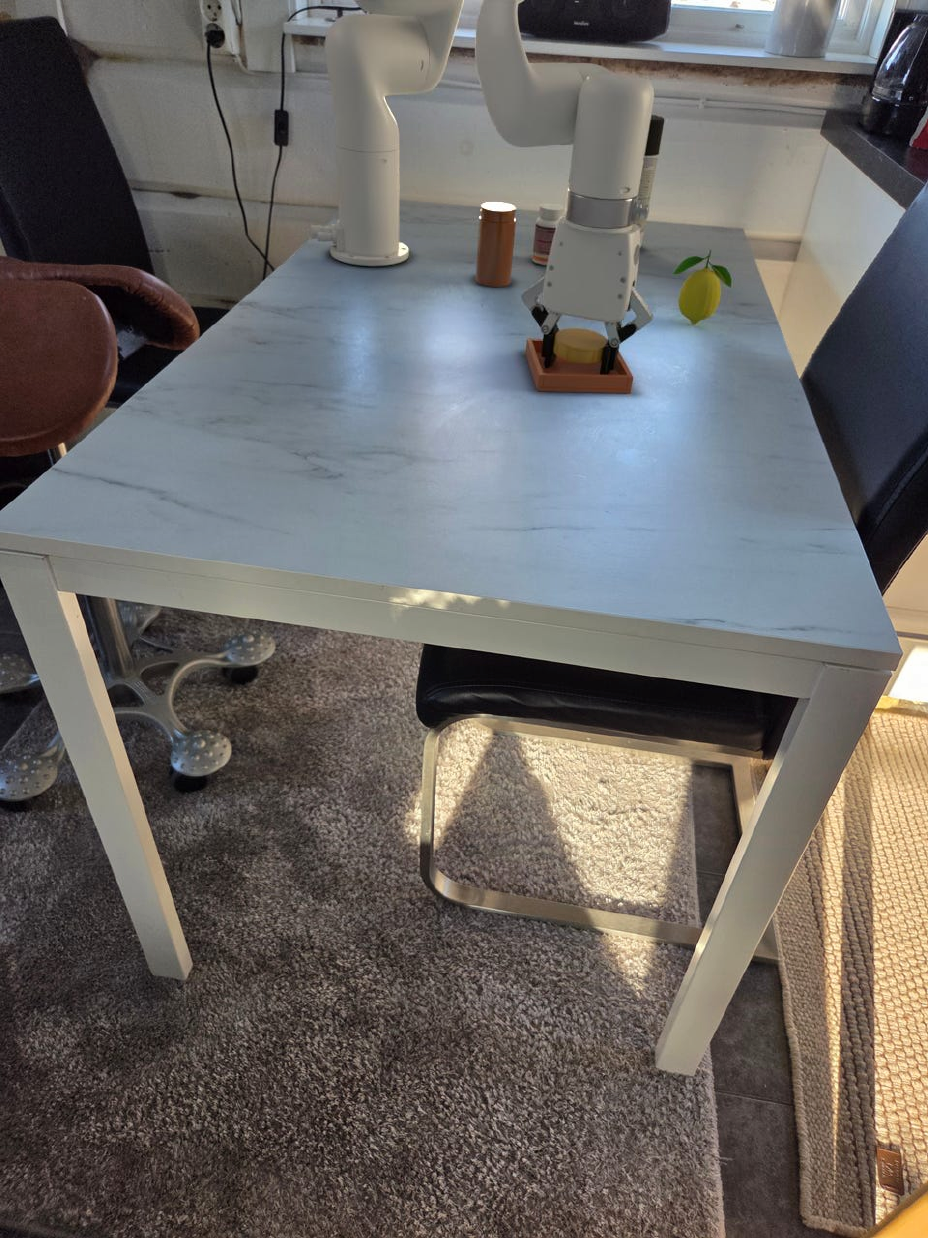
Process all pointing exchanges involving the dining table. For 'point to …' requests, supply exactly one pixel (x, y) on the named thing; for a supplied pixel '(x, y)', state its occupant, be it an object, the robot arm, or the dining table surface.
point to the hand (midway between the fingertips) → (577, 367)
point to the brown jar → (495, 244)
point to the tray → (576, 374)
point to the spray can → (649, 165)
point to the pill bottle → (545, 231)
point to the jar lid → (579, 345)
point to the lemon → (701, 289)
